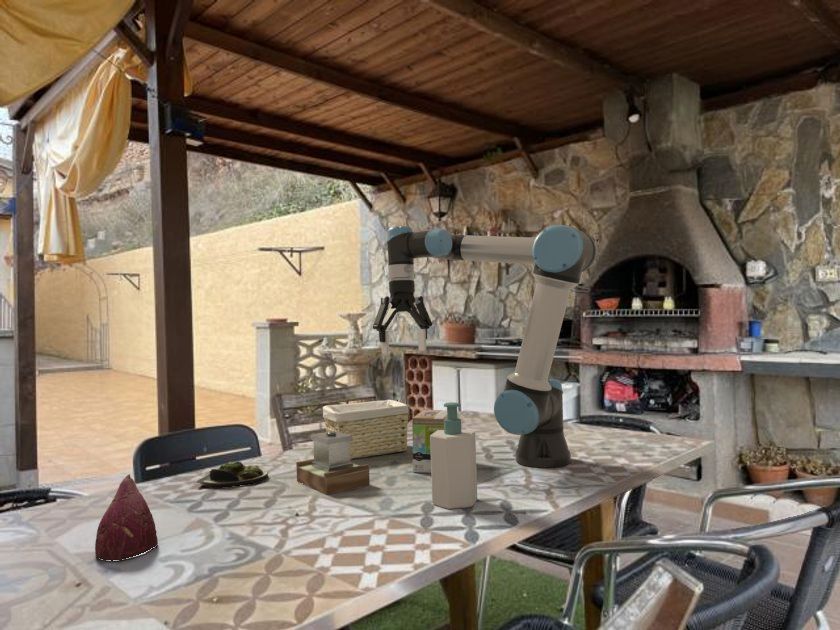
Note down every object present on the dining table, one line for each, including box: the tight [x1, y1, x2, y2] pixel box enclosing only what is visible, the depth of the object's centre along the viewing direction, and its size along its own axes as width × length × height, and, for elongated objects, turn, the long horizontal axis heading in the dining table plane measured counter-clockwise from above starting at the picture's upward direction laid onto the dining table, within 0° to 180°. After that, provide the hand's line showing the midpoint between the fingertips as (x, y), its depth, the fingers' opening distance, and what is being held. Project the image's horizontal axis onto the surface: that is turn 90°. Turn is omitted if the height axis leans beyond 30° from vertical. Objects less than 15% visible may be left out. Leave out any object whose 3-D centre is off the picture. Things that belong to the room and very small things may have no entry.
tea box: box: [411, 409, 447, 474], centre depth 166 cm, size 15×10×15 cm, turn 168°
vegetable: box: [94, 474, 159, 561], centre depth 112 cm, size 10×10×15 cm
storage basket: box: [322, 399, 410, 460], centre depth 187 cm, size 24×16×15 cm
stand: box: [295, 458, 371, 496], centre depth 152 cm, size 16×12×5 cm
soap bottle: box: [430, 402, 478, 510], centre depth 133 cm, size 10×9×22 cm
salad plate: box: [196, 460, 269, 489], centre depth 161 cm, size 19×18×5 cm
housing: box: [310, 431, 354, 472], centre depth 152 cm, size 7×9×9 cm
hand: (404, 352), depth 176 cm, fingers open, 13 cm apart
